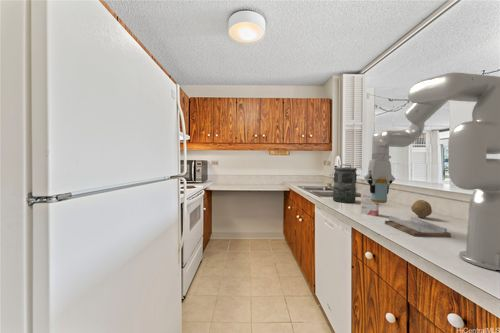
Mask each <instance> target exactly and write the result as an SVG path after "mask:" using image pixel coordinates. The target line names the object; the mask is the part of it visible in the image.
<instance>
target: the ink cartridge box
mask: <svg viewBox="0 0 500 333" xmlns="http://www.w3.org/2000/svg"><path fill="white" fill-rule="evenodd" d="M379 208H380V203H377V202H372V201H371V193H370V188H361V193H360V210H359V211H360V214H363V215H367V216H368V215H370V216H374V217H376V216H379V213H380V212H379V211H380V210H379Z"/></svg>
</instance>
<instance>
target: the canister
mask: <svg viewBox="0 0 500 333" xmlns="http://www.w3.org/2000/svg"><path fill="white" fill-rule="evenodd" d="M342 166H344V164H340V165H339V167H338V166H335V167H334V168H333V170H334V172H333V188H332V189H333V190H332V200H333V201H334V202H337V203H342V204H346V203H347V204H351V203H352V204H354V203H356V197H357V194H356V193H357V188H356V184H357V177H358V174H357V171H358V169H357V168H356V167H353V168H352V166H351V164H346V167H342ZM347 166H349V167H347Z"/></svg>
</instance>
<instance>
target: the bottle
mask: <svg viewBox="0 0 500 333" xmlns="http://www.w3.org/2000/svg"><path fill="white" fill-rule="evenodd" d="M386 177H387V174H386V173H379V176H378V179H377V180H376V181H375V184H374V185H375V193H371V201H372V202H377V203H379V204H386V203H387V202H388V194H387V187H388V182H387V178H386ZM372 181H373V180H372Z"/></svg>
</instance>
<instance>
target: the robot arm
mask: <svg viewBox="0 0 500 333" xmlns="http://www.w3.org/2000/svg"><path fill="white" fill-rule="evenodd" d="M407 98H408V100H409V102H411V103H412V104H411V105H410V106H409V107H408V108H407V109H406V110H405V112H404V115H405V118H406V119H407V121H408V122H410V123H411V125H410V126H408V127H407V129H406V130H384V131H382V132H377V133H374V134H372V138H371V139H372V140H371V141H372V142H371V143H372V144H371V145H372V146H371V148H372V150H371V160H369V163H368V168H367V174H366V175H364V181H366V182H367V184H368V185H369V189H370V191H369V192H370V193H375V185H374V184H375V181H376V180H377V179H378V176H379V173H386V174H387V177H386V178H387V182H388V187H387V195H388V194H389V192H390V190H389V189H390V186H391V185H392V184H393V182H394V181H395V180H396V178H395V177H394V175H393V174H392V164H391V161H390V159H391V158H392V156H391V155H390V147H391V148H393V147H394V148H395V147H396V148H406V147H409V146H411V145H412V144H413V143H415V142H416V141H417V140H418V139H419V138H420V137H421V136H422V134H423V132H424V130H425V123H426V122H427V121H428V120H429V119H430V118H431V117H432V116H433V115H434V114H436V112H438V111H439V110H440V109H441V108H442V107H443V106H444V105H445V104H446V103H448V101H452V102H453V101H455V102H467V103H475V105H474V106H473V108H472V112H471V119H472V120H470V121H464V122H462V123H460V124H458V125H457V126H455V127H454V128H453V129H452V131H451V132H450V134H449V137H448V141H447V142H448V144H447V146H448V148H447V149H448V150H447V151H448V152H447V153H448V175H449V178H450V181H451V182H452V184H453V185H454V186H455V187H457V188H459V189H462V190H465V191H466V190H467V191H473V193H472V194H471V197H470V200H469V205H468V206H469V208H468V220H467V234H466V236H467V237H466V248H465V250H462V251H460V252H459V254H458V256H459V258H460V259H462V260H464V261H465V262H467V263H469V264H472V265H474V266H477V267H480V268H485V269H488V270H492V271H496V270H500V158H489V157H487V155H499V154H500V76H498V75H497V76H495V75H489V74H488V75H487V74H478V73H468V72H448V73H444V74H440V75H437V76H432V77H429V78H428V77H427V78H425V79H421V80H419V81H417V82H416V83H415V84H414V85H413V84H412V87H410V88H409V91H408V94H407ZM372 180H373V181H372Z"/></svg>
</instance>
